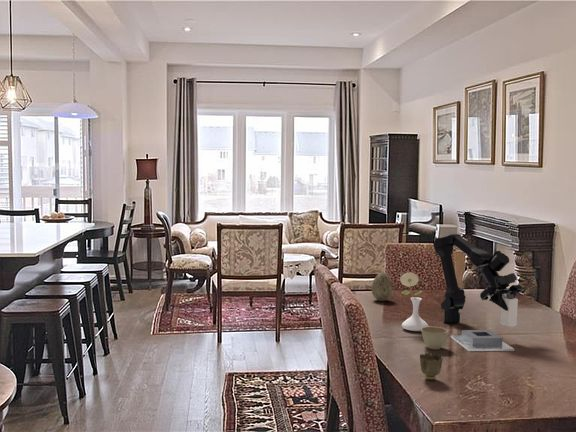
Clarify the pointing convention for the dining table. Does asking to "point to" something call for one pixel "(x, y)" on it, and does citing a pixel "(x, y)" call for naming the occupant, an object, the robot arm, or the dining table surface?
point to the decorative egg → (382, 287)
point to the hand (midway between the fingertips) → (511, 309)
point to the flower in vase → (414, 321)
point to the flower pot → (434, 337)
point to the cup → (431, 365)
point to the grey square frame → (481, 341)
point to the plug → (509, 311)
